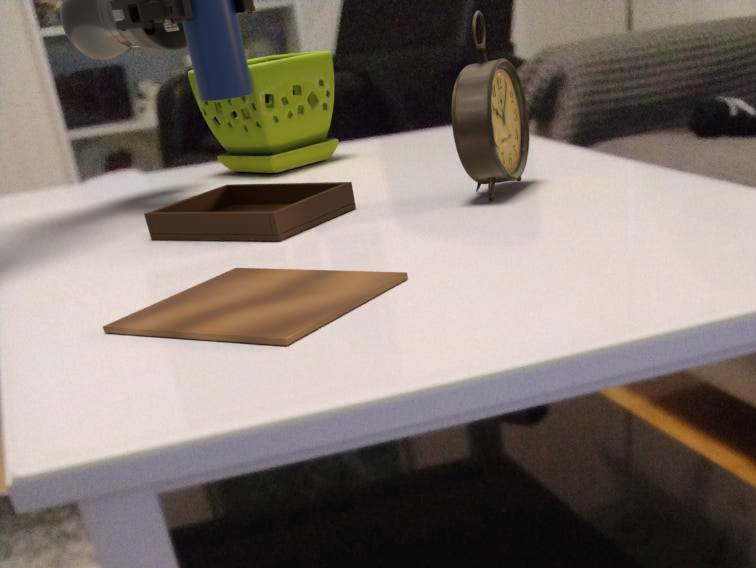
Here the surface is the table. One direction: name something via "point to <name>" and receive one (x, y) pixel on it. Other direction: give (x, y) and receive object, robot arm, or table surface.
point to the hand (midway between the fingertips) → (217, 2)
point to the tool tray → (251, 212)
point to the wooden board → (258, 305)
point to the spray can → (217, 50)
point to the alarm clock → (490, 119)
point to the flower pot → (276, 114)
